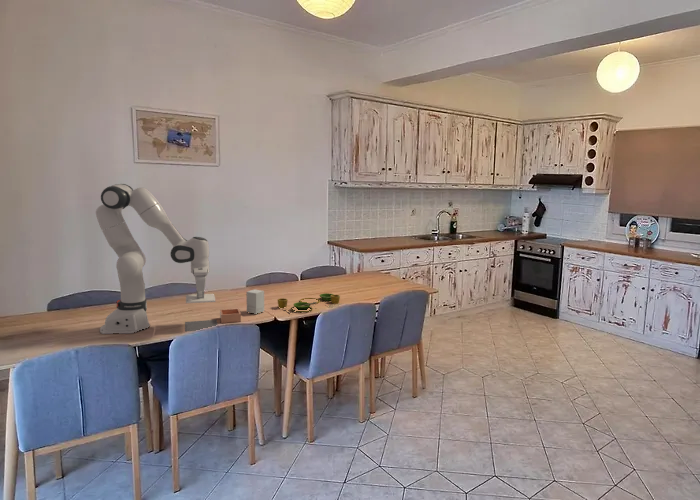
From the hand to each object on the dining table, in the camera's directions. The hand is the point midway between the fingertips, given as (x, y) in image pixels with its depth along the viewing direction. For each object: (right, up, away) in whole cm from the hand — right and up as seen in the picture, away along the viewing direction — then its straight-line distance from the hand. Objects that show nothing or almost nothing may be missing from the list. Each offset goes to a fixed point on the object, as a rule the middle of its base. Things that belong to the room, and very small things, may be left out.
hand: (200, 295), depth 236 cm
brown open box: (+12, -15, +13) cm, 23 cm away
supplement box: (+22, -13, +29) cm, 39 cm away
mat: (0, -16, +3) cm, 16 cm away
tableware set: (+52, -11, +48) cm, 72 cm away
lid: (0, -2, 0) cm, 2 cm away
